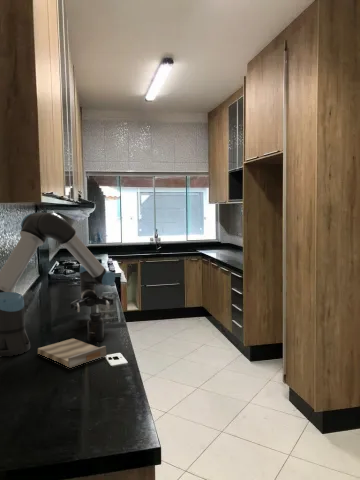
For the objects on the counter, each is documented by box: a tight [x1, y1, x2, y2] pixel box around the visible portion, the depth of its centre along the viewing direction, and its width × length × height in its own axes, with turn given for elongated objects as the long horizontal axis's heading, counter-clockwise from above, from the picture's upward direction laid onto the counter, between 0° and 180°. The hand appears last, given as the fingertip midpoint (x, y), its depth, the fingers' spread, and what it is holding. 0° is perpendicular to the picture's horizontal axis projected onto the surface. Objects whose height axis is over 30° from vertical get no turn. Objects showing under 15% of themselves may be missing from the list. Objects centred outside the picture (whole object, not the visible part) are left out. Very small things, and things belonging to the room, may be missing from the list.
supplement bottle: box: [87, 312, 105, 344], centre depth 168 cm, size 7×7×12 cm
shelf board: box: [37, 337, 107, 369], centre depth 150 cm, size 23×16×4 cm
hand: (93, 307), depth 177 cm, fingers open, 13 cm apart
